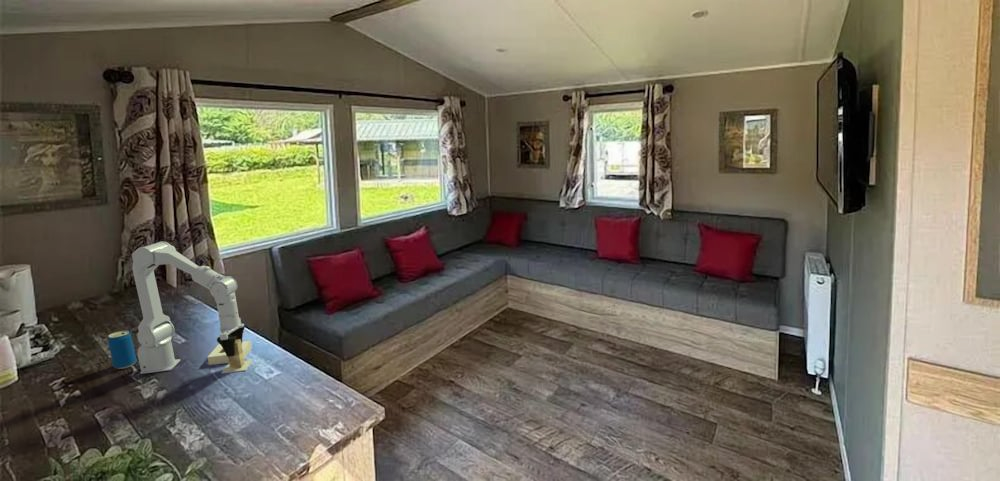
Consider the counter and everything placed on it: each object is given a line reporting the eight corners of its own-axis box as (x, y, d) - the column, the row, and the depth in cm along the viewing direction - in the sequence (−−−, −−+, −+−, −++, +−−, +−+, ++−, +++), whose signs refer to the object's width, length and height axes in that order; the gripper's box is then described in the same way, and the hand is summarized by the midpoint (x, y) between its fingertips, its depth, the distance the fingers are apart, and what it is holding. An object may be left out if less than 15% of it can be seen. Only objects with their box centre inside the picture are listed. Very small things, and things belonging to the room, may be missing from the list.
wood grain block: (230, 369, 164) (225, 344, 162) (233, 364, 167) (229, 340, 165) (241, 367, 164) (237, 343, 162) (244, 363, 168) (240, 338, 166)
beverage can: (141, 362, 172) (134, 331, 170) (122, 371, 166) (115, 338, 164) (128, 360, 174) (121, 329, 172) (109, 368, 168) (102, 336, 166)
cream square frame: (208, 365, 168) (207, 357, 168) (220, 351, 179) (218, 344, 178) (243, 361, 170) (241, 353, 170) (252, 347, 181) (250, 340, 180)
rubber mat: (221, 373, 162) (221, 372, 161) (229, 363, 169) (229, 362, 169) (246, 370, 163) (245, 369, 163) (252, 360, 170) (252, 359, 170)
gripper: (234, 320, 155) (240, 359, 158) (247, 304, 169) (253, 341, 172) (210, 322, 154) (217, 361, 157) (225, 307, 168) (231, 343, 171)
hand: (234, 351), depth 165 cm, fingers open, 7 cm apart
